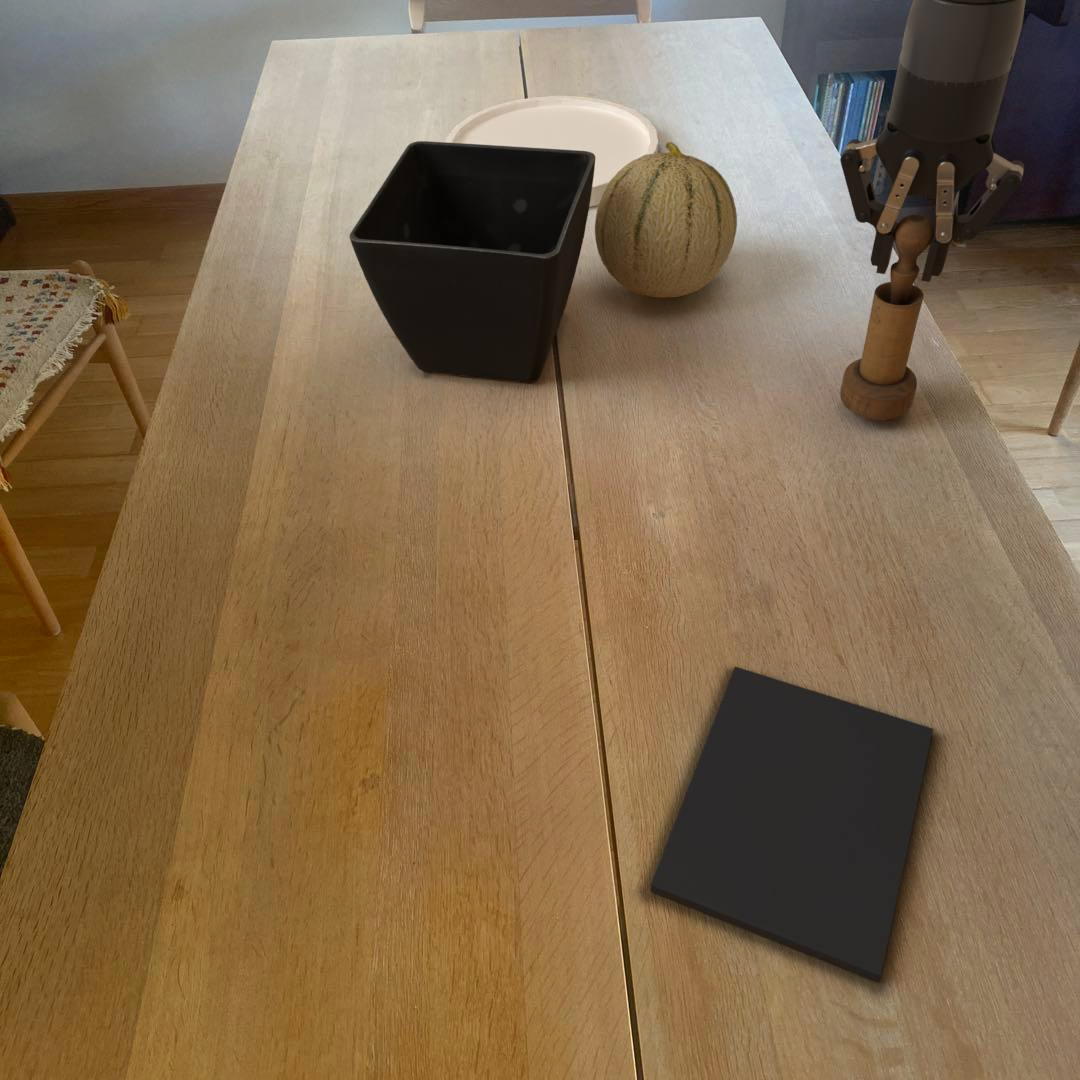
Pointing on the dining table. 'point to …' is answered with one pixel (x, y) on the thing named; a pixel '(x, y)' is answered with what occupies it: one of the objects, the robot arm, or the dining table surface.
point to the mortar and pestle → (890, 333)
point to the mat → (799, 821)
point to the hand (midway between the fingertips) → (905, 272)
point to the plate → (565, 131)
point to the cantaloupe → (665, 224)
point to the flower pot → (476, 253)
